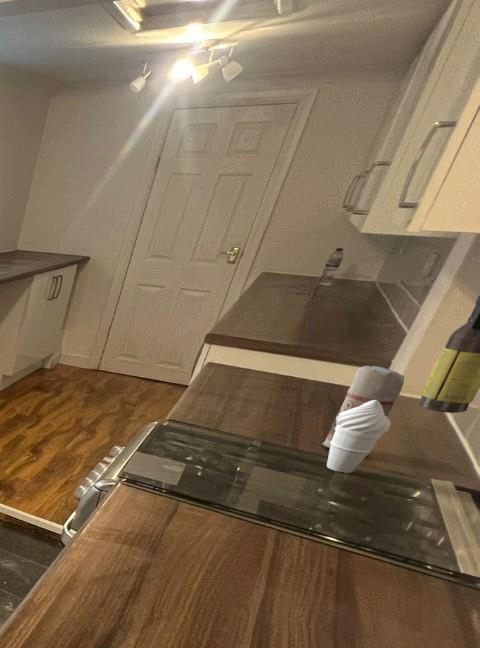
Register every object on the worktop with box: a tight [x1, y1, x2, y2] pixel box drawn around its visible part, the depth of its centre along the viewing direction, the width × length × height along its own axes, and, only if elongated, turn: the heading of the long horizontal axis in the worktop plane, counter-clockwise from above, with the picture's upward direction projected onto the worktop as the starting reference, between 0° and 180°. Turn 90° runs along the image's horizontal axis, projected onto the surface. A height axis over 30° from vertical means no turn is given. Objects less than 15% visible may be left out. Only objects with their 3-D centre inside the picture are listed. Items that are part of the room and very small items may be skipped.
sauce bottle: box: [418, 294, 480, 414], centre depth 100 cm, size 6×6×20 cm
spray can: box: [321, 365, 405, 449], centre depth 134 cm, size 8×8×20 cm
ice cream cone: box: [326, 400, 392, 474], centre depth 124 cm, size 8×8×16 cm
